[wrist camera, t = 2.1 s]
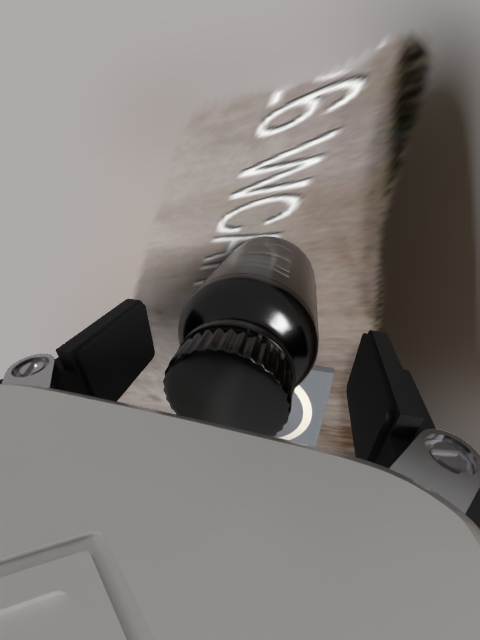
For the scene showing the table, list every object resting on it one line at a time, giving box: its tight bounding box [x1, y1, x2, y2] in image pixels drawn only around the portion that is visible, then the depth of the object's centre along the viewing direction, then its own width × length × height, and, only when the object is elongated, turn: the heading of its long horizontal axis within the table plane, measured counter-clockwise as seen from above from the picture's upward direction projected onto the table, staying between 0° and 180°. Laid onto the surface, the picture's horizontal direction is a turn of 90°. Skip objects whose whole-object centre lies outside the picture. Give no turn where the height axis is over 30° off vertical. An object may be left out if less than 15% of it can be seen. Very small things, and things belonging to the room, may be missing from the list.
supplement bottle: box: [163, 237, 319, 437], centre depth 14 cm, size 7×7×12 cm
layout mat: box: [274, 366, 334, 447], centre depth 26 cm, size 16×12×1 cm
